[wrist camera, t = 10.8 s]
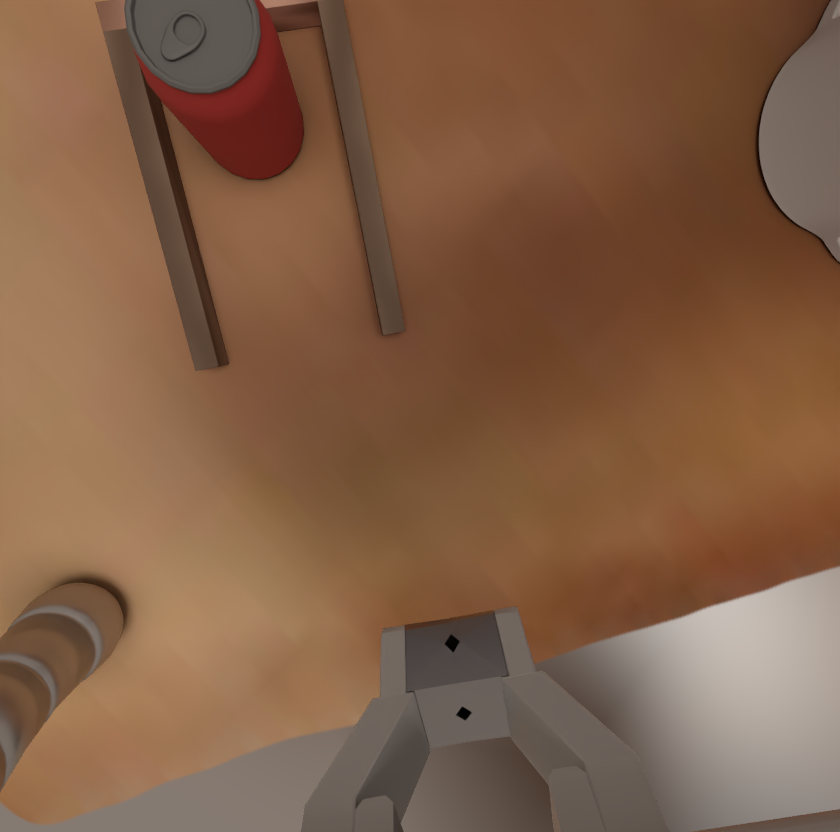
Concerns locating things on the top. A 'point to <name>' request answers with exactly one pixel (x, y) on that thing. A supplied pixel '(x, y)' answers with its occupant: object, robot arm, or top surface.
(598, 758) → the robot arm
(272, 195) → the top surface
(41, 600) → the plastic bottle
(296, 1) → the walnut channel
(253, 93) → the beer can
